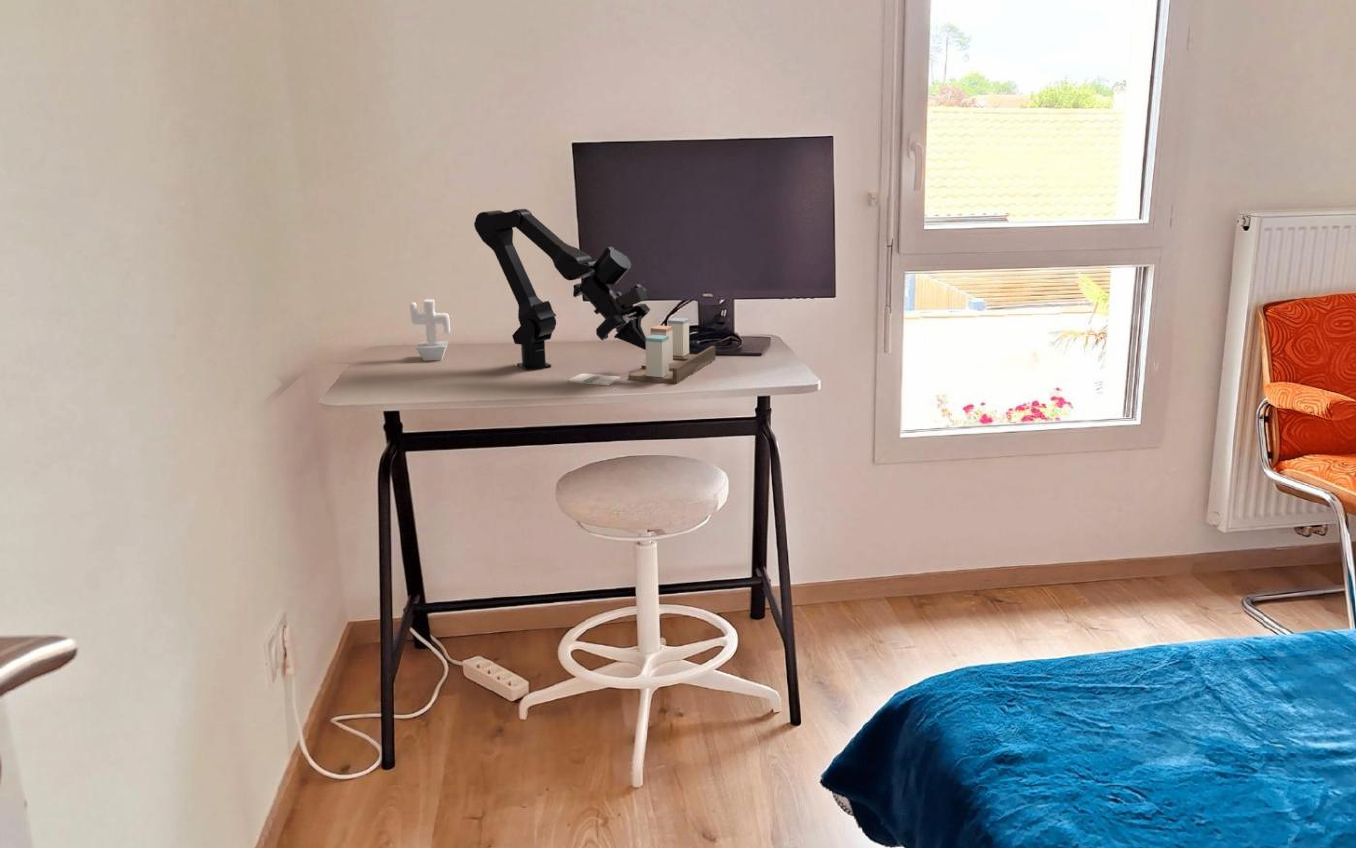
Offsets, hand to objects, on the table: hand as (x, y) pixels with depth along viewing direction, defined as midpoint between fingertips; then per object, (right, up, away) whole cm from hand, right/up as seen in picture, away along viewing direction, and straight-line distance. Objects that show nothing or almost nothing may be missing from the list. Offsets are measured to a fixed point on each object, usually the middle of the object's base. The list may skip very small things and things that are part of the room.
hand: (648, 348), depth 224 cm
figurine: (-55, -1, +24) cm, 60 cm away
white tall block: (+2, -6, +1) cm, 6 cm away
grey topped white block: (+7, 0, +22) cm, 23 cm away
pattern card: (-12, -7, +1) cm, 14 cm away
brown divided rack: (+6, -4, +11) cm, 13 cm away
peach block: (+3, -3, +12) cm, 13 cm away
